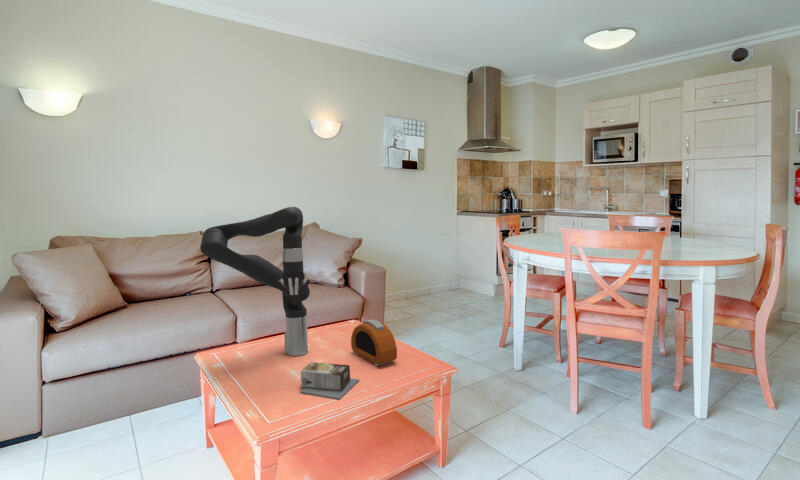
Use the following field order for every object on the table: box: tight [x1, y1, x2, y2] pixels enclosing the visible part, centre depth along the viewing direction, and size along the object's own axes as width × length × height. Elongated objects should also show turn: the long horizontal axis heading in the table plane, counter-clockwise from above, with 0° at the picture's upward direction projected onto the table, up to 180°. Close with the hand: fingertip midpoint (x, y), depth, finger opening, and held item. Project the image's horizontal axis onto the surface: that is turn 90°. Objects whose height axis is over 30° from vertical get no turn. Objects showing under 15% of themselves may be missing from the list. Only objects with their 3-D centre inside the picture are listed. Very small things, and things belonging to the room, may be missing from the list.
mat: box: [299, 377, 360, 401], centre depth 161 cm, size 16×16×1 cm
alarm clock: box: [350, 319, 398, 367], centre depth 188 cm, size 23×9×17 cm, turn 37°
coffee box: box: [300, 361, 351, 391], centre depth 162 cm, size 9×6×16 cm
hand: (294, 304), depth 167 cm, fingers closed
